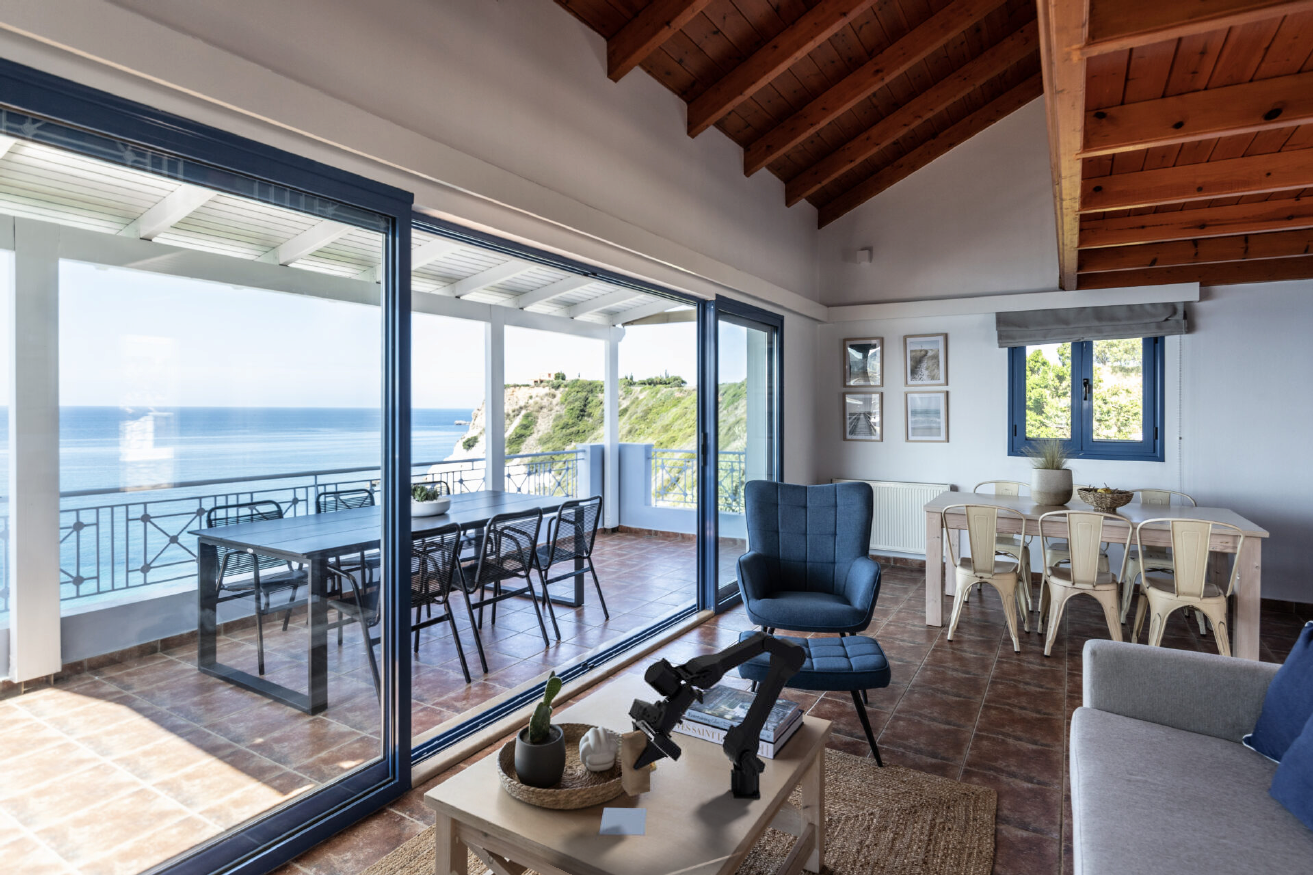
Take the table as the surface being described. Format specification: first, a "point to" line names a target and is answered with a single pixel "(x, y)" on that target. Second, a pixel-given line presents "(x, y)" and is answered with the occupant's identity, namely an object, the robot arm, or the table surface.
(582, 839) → the table surface
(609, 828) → the light blue square plate
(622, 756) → the walnut pillar
